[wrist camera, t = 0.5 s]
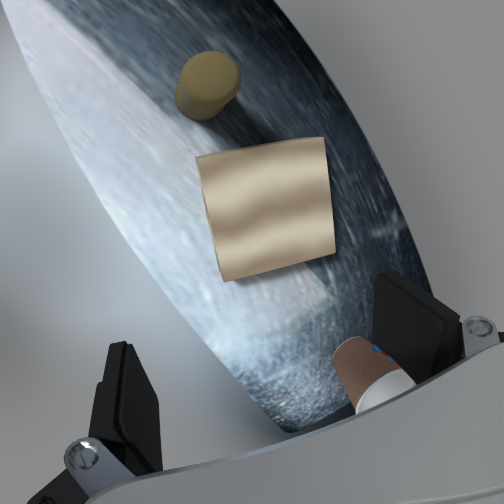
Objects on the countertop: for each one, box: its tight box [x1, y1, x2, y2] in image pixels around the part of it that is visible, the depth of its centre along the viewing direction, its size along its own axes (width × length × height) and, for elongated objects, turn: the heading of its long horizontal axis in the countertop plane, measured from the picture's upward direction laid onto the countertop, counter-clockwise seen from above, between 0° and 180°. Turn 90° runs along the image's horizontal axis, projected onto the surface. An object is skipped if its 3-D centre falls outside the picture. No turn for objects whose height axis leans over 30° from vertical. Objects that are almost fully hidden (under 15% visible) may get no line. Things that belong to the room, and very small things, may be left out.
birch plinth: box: [195, 137, 336, 282], centre depth 36 cm, size 14×14×4 cm
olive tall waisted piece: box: [174, 51, 241, 121], centre depth 27 cm, size 6×6×11 cm
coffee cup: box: [333, 336, 414, 414], centre depth 45 cm, size 10×10×12 cm
